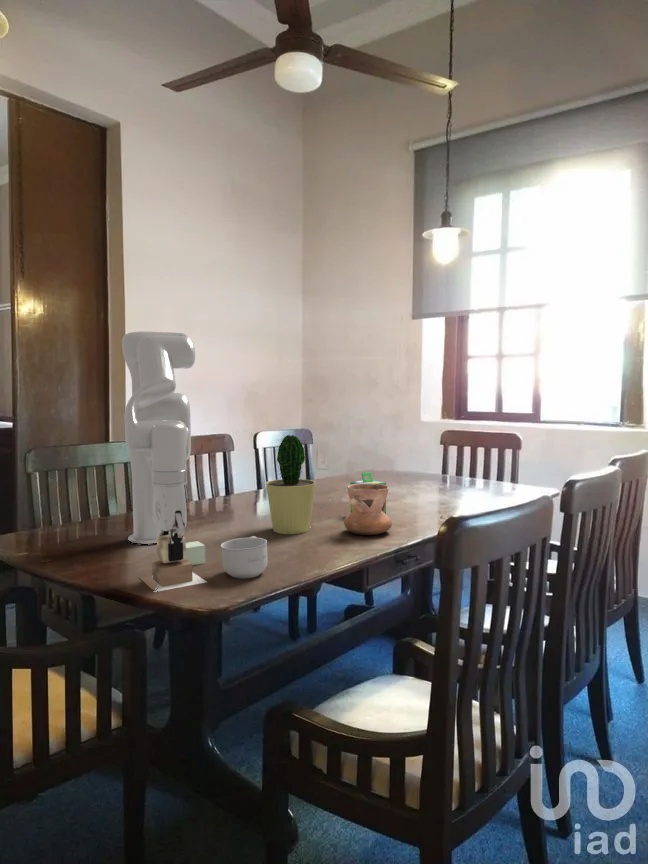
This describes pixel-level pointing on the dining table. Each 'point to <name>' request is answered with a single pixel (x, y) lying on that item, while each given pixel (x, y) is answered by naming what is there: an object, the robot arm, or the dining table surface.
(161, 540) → the maple block
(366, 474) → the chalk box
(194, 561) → the sage block
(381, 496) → the ceramic jug
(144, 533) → the robot arm
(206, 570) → the dining table surface
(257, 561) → the teacup
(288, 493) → the potted cactus
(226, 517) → the dining table surface
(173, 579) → the walnut base brick
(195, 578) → the white mat
